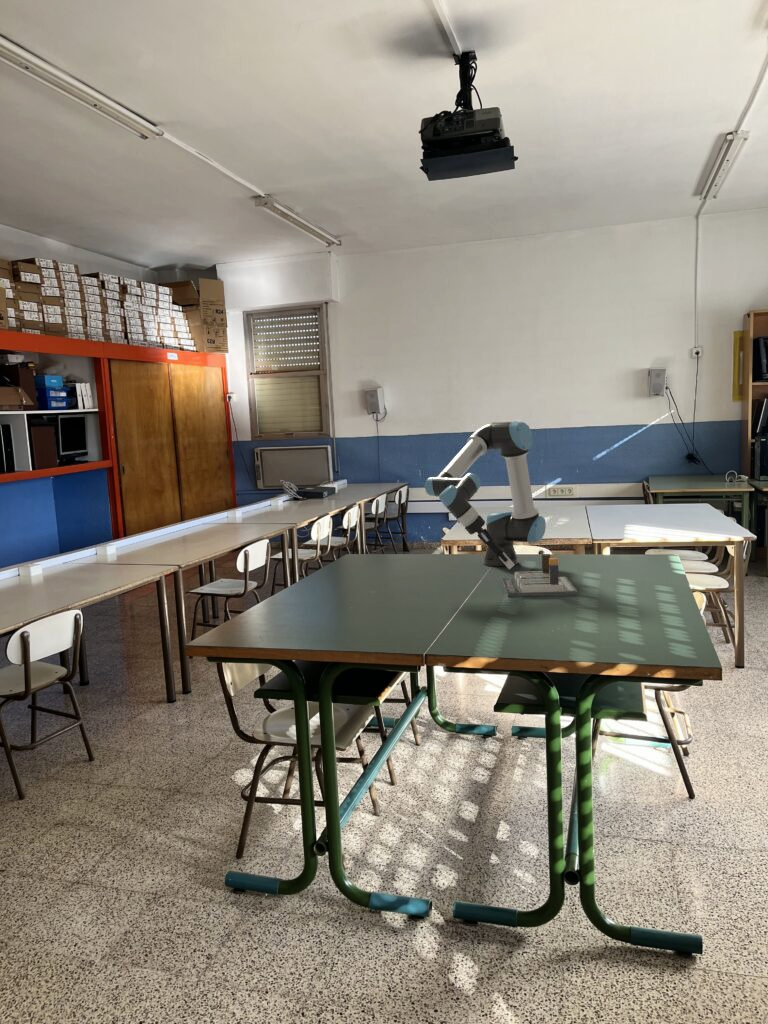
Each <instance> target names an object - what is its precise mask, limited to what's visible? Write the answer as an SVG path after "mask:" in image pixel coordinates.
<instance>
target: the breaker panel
mask: <svg viewBox="0 0 768 1024" xmlns="http://www.w3.org/2000/svg"><path fill="white" fill-rule="evenodd" d="M549 558H551V554H550V553H546V554H545V553H543V554H541V570H538V571H536V570H534V571H533V570H532V571H514V577H513V578H511V577H508V578H507V577H506V578H505V577H504V578H502V581H501V583H502V585H503V588H504V590H505V593H506V595H507V597H508V598H519V597H522V598H525V597H553V596H554V597H555V596H557V597H559V596H560V597H561V596H564V597H565V596H578V590H577V588H576V587H575V586H574V585H573V584H572V582H571V581H570V579H568V577H567V576H559V563H558V564H549Z"/></svg>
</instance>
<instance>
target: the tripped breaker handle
mask: <svg viewBox="0 0 768 1024" xmlns="http://www.w3.org/2000/svg"><path fill="white" fill-rule="evenodd" d="M549 564H558V565H559V558H557V557H550V558H549Z"/></svg>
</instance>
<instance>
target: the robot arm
mask: <svg viewBox="0 0 768 1024" xmlns="http://www.w3.org/2000/svg"><path fill="white" fill-rule="evenodd" d="M533 439H534V438H533V433H532V430H531V428H530V426H529V425H528V424H527V423H525V422H524V421H502V422H490V423H487V424H484V425H483V426H481V427H479V428H478V429H476V430H475V431H474V432H473V433H472V434H471V435H470V436H469V437H468V438H467V440H466V444H465V445H464V446H463V447H462V448H461V449H460V450H459V451H458V452H457V454H456V455H454V457H453V458H452V459H451V461H450V462H449V463H448V464H447V465H445V467H444V468H443V469H442V470H441V471H440V473H439V474H438V475H437V476H431V477H428V478H427V479H426V480H425V483H424V489H425V492H426V494H427V495H429V497H430V496H432V497H438V498H439V501H440V502H441V503H442V504H443V507H445V508H446V509H447V511H449V512H450V513H451V515H453V516H454V518H455V519H456V520H457V523H458V524H461V526H462V527H464V529H465V531H466V532H468V534H470V535H474V534H475V533H477V537H478V538H479V539H480V540H481V541H482V542H483V543H484V545H486V550H485V553H484V557H483V565H485V566H491V567H506V568H507V569H508V570H511V569H512V568H513V567H514V566H515V565H517V564H518V563H519V562H518V561H519V560H518V556H517V552H516V550H515V547H514V542H516V543H528V544H533V543H534V544H535V543H539V542H540V541H541V540H542V539H543V538H544V535H545V532H546V528H547V527H546V526H547V523H546V519H545V517H544V516H541V515H540V514H539V510H538V509H537V508H535V506H534V499H533V492H532V487H531V480H530V473H529V467H528V461H527V455H528V453H529V451H530V449H531V448H532V446H533ZM489 451H500V456H501V457H502V458H504V459H505V464H506V465H505V466H506V471H507V475H508V482H509V488H510V494H511V500H512V506H513V511H512V510H511V511H510V510H507V511H501V512H494V513H493V512H492V513H490V514H489V513H488V515H487V516H486V521H485V519H484V518H483V517H482V516H481V515H479V513H478V511H477V510H476V509H475V508H474V506H473V505H472V504H471V503H470V500H471V499H472V498H473V496H474V495H475V494H477V493H478V490H480V488H481V486H482V485H481V484H482V481H481V479H480V477H479V476H478V475H477V474H476V473H473V472H468V473H466V472H467V471H468V470H469V469H470V468H471V467H472V466H473V464H474V463H475V462H476V461H477V460H478V459H479V458H480V457H481V456H484V455H485V454H486V453H487V452H489ZM464 474H465V475H464ZM484 526H486V528H483V527H484Z"/></svg>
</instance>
